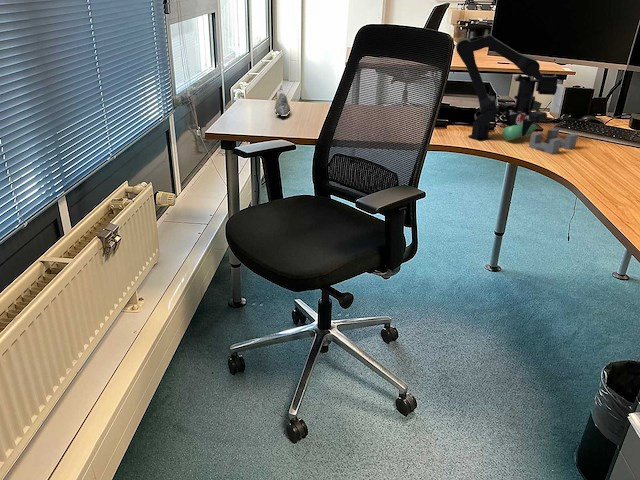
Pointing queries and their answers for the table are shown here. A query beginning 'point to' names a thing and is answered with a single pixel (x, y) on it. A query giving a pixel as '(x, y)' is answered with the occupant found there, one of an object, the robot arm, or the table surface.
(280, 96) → the mineral rock
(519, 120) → the soda can
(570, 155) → the table surface
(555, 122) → the table surface
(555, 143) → the u rest
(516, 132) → the bottle
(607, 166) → the table surface
